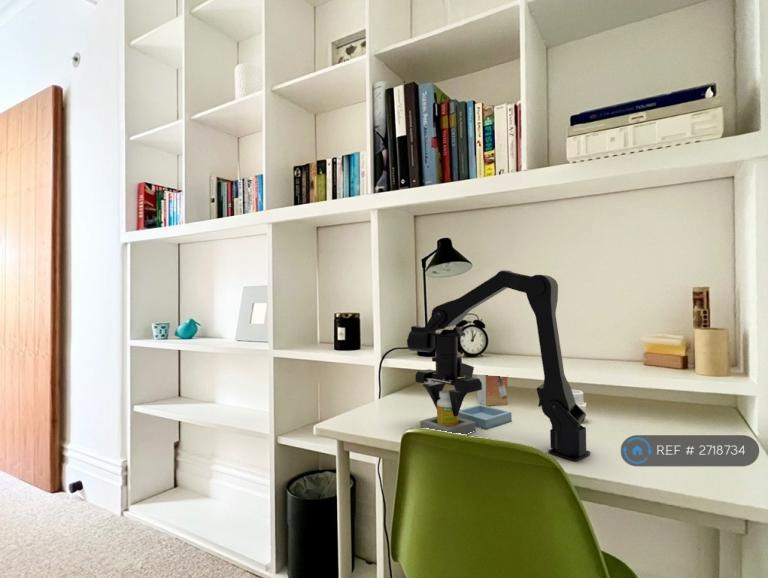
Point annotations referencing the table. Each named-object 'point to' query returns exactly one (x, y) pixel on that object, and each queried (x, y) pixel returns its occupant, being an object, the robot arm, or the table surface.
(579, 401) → the pipe fitting
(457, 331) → the robot arm
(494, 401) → the small box
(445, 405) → the supplement bottle
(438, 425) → the holder
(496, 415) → the tray
